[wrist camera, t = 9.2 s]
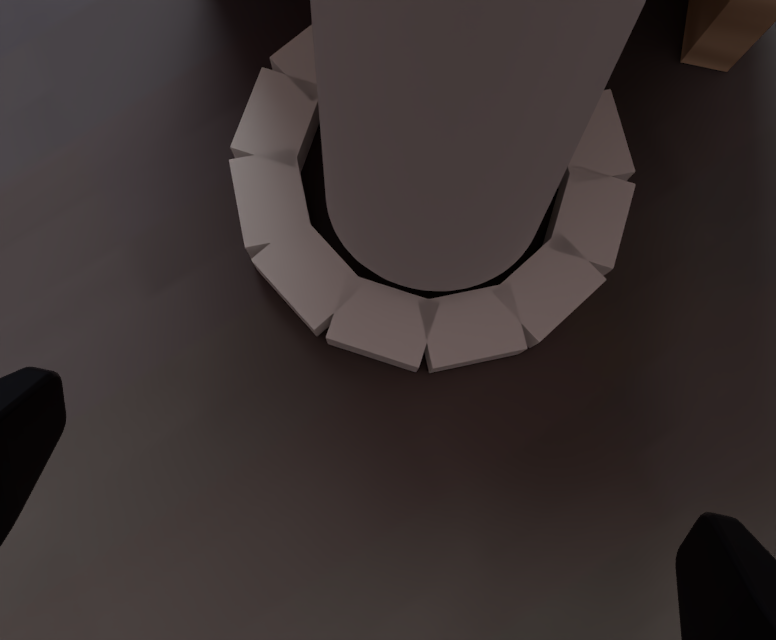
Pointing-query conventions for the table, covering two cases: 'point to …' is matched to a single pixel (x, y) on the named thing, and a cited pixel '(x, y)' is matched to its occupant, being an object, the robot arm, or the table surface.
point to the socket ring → (396, 307)
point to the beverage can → (454, 124)
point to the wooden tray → (724, 30)
